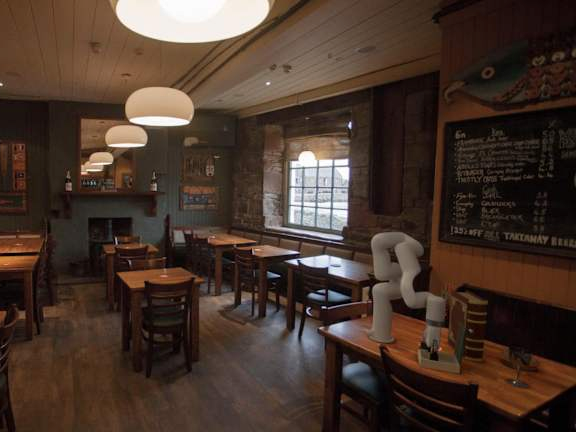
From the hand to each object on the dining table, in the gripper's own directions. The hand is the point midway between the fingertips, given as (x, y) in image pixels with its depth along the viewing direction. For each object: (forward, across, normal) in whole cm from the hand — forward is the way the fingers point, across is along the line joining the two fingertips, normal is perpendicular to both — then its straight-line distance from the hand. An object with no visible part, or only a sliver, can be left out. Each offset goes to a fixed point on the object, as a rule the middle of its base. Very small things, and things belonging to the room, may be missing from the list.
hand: (432, 357), depth 187 cm
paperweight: (+2, 0, 0) cm, 2 cm away
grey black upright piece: (+3, -19, 0) cm, 19 cm away
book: (+3, 0, +2) cm, 4 cm away
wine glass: (+3, +6, +31) cm, 32 cm away
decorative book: (+3, -23, +17) cm, 29 cm away
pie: (+3, -16, +37) cm, 41 cm away
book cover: (-9, 0, +10) cm, 14 cm away
